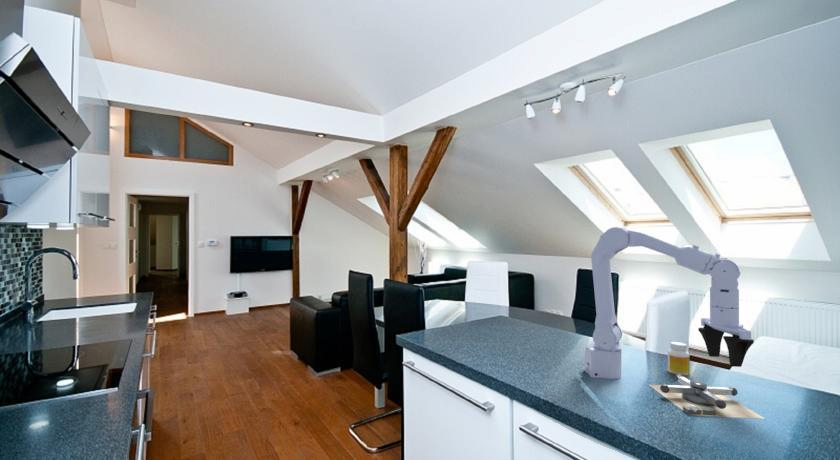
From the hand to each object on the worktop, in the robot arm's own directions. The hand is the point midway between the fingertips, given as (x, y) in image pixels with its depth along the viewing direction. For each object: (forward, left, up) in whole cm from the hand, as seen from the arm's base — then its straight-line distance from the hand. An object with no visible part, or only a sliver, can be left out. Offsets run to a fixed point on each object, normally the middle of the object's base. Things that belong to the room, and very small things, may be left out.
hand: (724, 361), depth 96 cm
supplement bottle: (-1, +18, -11) cm, 21 cm away
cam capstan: (-7, -1, -9) cm, 11 cm away
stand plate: (-7, -2, -10) cm, 12 cm away
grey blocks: (-12, -9, -9) cm, 18 cm away
